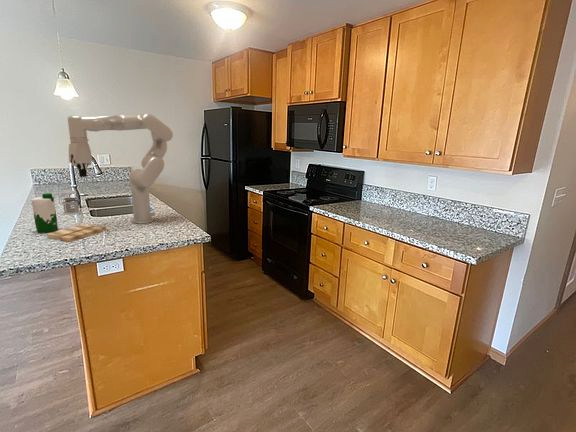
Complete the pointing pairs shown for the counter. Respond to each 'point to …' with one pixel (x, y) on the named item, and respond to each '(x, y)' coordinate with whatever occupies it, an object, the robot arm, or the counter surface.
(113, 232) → the counter surface
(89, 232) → the laid floor row
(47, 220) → the milk carton
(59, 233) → the tan wooden board
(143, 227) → the counter surface
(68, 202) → the french press
